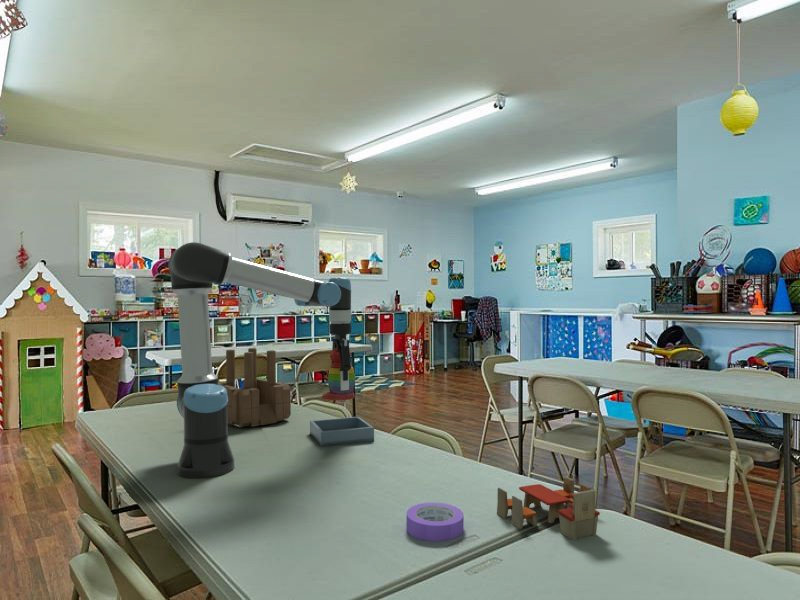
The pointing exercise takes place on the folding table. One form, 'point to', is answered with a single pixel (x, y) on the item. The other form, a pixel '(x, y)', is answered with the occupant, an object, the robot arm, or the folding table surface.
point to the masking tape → (434, 521)
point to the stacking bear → (338, 380)
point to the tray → (341, 431)
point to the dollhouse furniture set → (554, 507)
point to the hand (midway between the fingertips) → (341, 387)
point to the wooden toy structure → (256, 392)
